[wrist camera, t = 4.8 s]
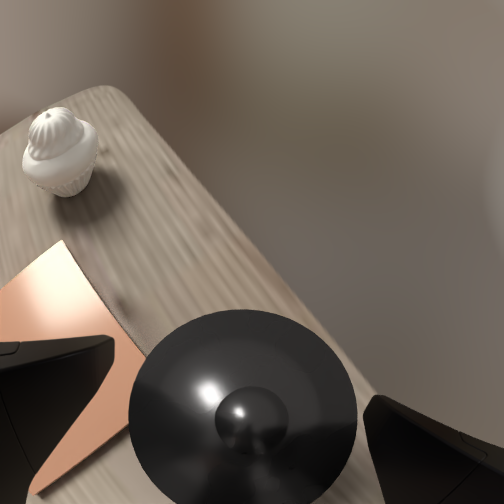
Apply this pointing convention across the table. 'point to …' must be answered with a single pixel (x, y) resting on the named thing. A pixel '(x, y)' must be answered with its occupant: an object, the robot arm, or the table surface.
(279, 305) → the table surface
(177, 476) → the press pot
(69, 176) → the muffin
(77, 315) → the plate
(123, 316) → the table surface
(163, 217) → the table surface
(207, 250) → the table surface
